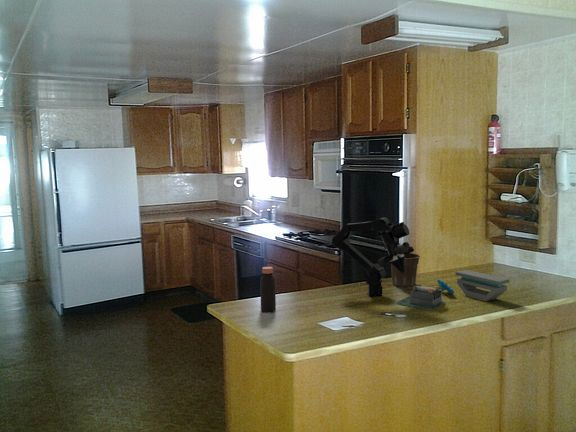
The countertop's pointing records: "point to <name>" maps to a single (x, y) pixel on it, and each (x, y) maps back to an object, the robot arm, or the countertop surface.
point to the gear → (444, 287)
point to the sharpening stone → (481, 285)
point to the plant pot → (406, 271)
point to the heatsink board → (423, 299)
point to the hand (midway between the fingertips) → (403, 272)
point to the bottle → (267, 290)
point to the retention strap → (425, 288)
